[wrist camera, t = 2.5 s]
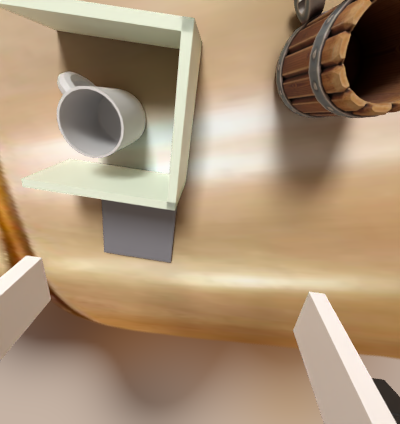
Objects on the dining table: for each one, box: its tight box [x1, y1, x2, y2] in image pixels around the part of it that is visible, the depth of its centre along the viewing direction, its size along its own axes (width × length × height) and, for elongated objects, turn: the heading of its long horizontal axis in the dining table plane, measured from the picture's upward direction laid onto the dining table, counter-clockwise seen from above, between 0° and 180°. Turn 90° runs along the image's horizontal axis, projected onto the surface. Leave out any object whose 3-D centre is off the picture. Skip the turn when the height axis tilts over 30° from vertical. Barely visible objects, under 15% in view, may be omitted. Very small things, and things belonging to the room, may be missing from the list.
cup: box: [57, 71, 146, 158], centre depth 29 cm, size 7×10×9 cm
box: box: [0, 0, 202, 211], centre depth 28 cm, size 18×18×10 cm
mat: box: [102, 199, 177, 263], centre depth 40 cm, size 14×12×1 cm
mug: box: [275, 0, 400, 118], centre depth 22 cm, size 16×11×15 cm
